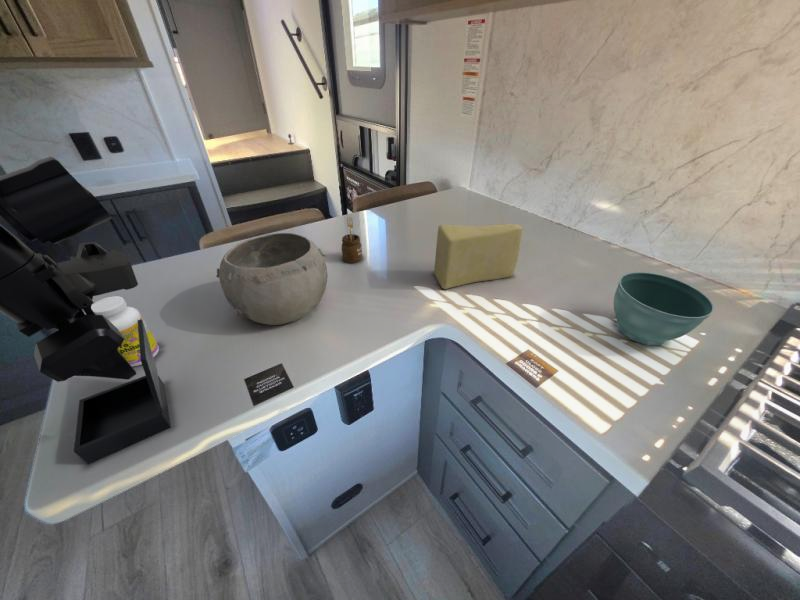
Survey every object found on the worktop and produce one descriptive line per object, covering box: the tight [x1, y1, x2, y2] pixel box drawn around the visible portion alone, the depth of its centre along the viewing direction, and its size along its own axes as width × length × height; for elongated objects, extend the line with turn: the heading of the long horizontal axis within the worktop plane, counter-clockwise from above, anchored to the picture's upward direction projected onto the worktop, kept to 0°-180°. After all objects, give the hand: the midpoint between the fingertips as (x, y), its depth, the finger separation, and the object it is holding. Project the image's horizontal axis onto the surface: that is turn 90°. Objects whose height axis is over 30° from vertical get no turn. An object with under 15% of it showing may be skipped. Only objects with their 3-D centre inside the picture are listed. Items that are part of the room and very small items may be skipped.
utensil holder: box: [341, 216, 363, 264], centre depth 93 cm, size 6×6×12 cm
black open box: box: [73, 375, 171, 466], centre depth 50 cm, size 10×10×4 cm
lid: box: [138, 319, 163, 413], centre depth 48 cm, size 11×10×1 cm
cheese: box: [433, 223, 523, 290], centre depth 84 cm, size 22×10×15 cm, turn 100°
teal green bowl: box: [613, 271, 715, 346], centre depth 68 cm, size 16×16×11 cm
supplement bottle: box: [91, 295, 160, 368], centre depth 58 cm, size 7×7×13 cm
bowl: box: [215, 232, 329, 326], centre depth 72 cm, size 23×23×15 cm
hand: (121, 358), depth 42 cm, fingers open, 9 cm apart
